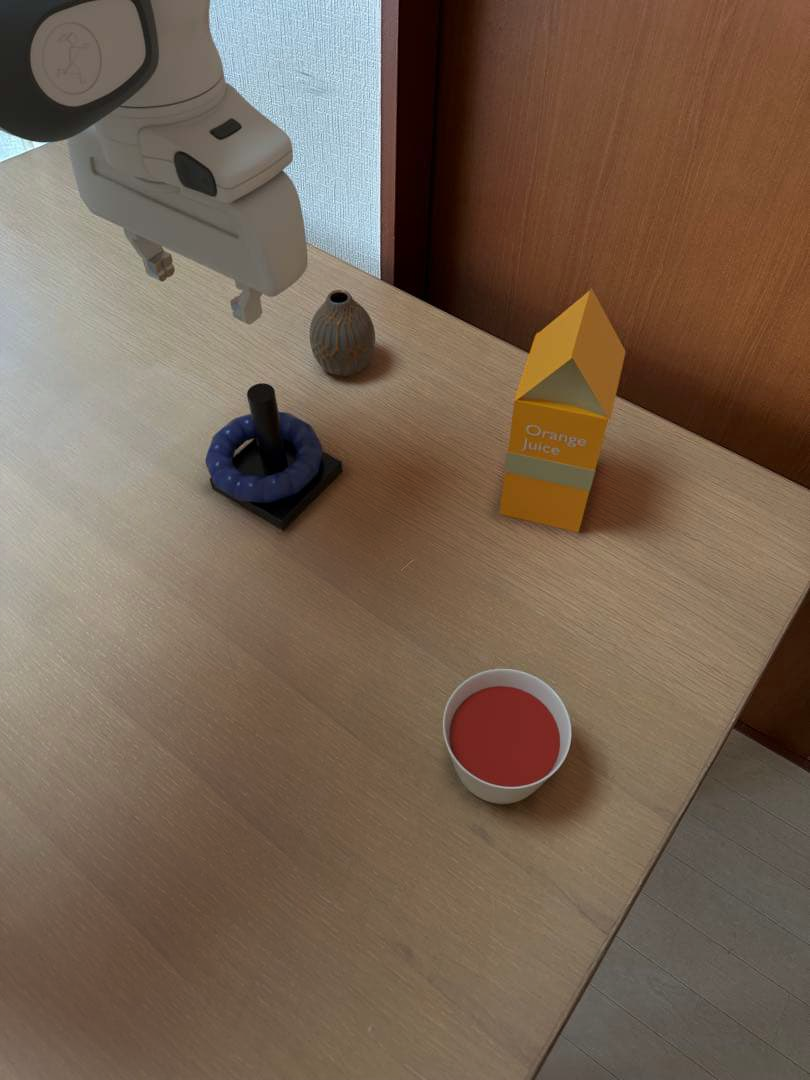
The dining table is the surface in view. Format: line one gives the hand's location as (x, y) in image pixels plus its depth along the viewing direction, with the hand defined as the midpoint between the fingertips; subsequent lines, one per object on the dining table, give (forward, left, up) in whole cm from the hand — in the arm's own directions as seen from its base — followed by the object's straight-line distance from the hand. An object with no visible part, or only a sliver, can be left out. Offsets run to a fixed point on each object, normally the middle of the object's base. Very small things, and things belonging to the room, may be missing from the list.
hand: (204, 296), depth 66 cm
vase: (+17, +1, -20) cm, 26 cm away
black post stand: (0, -4, -20) cm, 20 cm away
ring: (0, -3, -17) cm, 17 cm away
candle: (-12, -37, -20) cm, 43 cm away
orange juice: (+14, -26, -20) cm, 36 cm away
